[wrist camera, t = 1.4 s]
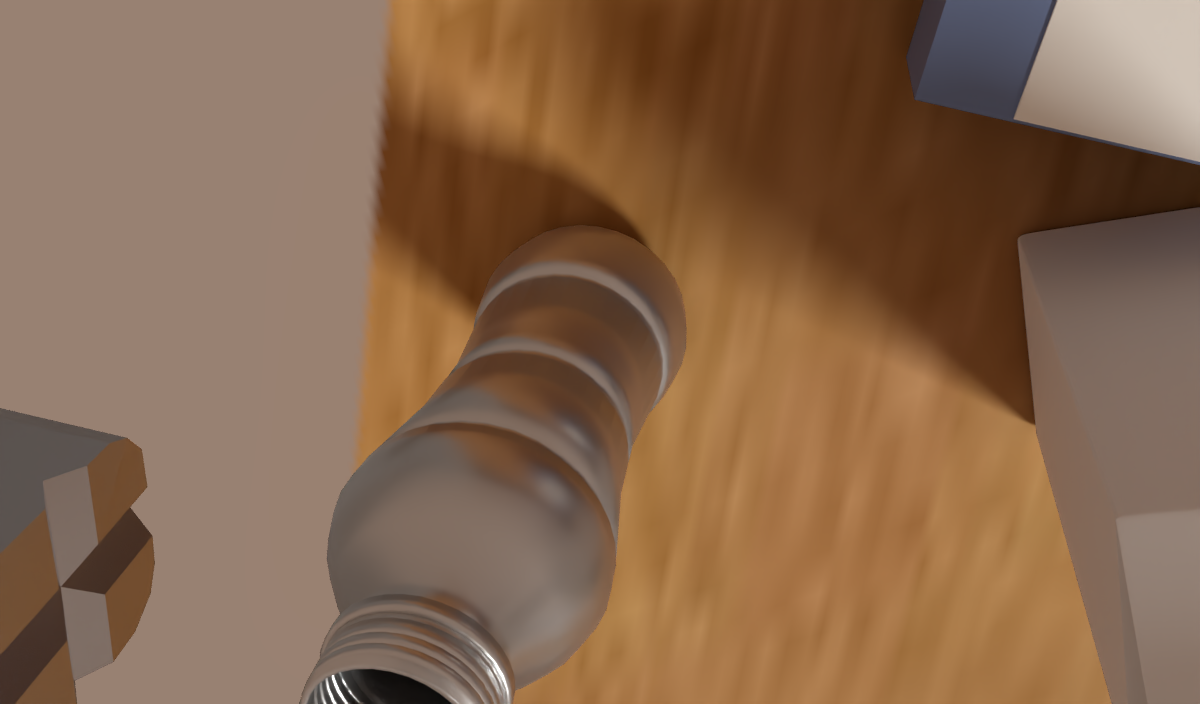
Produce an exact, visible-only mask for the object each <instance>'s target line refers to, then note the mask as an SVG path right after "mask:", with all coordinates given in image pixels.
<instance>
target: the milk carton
mask: <svg viewBox="0 0 1200 704" xmlns="http://www.w3.org/2000/svg"><path fill="white" fill-rule="evenodd" d="M1018 252H1019V262H1020V272H1021V282H1022V293H1023V303H1024V313H1025V323H1026V333H1027V344H1028V354H1029V364H1030V374H1031V384H1032V395H1033V405H1034V415H1035V425H1036V434H1037V438H1038V441H1039V445H1040V448H1041V452H1042V455H1043V459H1044V463H1045V466H1046V470H1047V473H1048V477H1049V481H1050V484H1051V488H1052V491H1053V495H1054V498H1055V502H1056V506H1057V509H1058V513H1059V516H1060V520H1061V524H1062V527H1063V531H1064V534H1065V538H1066V541H1067V545H1068V549H1069V552H1070V556H1071V559H1072V563H1073V566H1074V570H1075V574H1076V577H1077V581H1078V584H1079V588H1080V592H1081V595H1082V599H1083V602H1084V606H1085V609H1086V613H1087V617H1088V620H1089V624H1090V627H1091V631H1092V635H1093V638H1094V642H1095V645H1096V649H1097V652H1098V656H1099V660H1100V663H1101V667H1102V670H1103V674H1104V677H1105V681H1106V685H1107V688H1108V692H1109V695H1110V699H1111V703H1112V704H1200V207H1198V208H1191V209H1184V210H1178V211H1171V212H1165V213H1158V214H1152V215H1145V216H1138V217H1132V218H1125V219H1119V220H1112V221H1105V222H1099V223H1092V224H1086V225H1079V226H1072V227H1066V228H1059V229H1053V230H1046V231H1040V232H1034V233H1029V234H1024V235H1021V236H1020V237H1019V238H1018Z"/></svg>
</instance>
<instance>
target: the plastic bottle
mask: <svg viewBox="0 0 1200 704" xmlns="http://www.w3.org/2000/svg"><path fill="white" fill-rule="evenodd" d="M685 349H686V317H685V308H684V304H683V299H682V294H681V292H680V290H679V287H678V285H677V283H676V281H675V278H674V277H673V275H672V274H671V273H670V271H669V270H668V268H667V267H666V265H665V264H664V263H663V262H662V261H661V260H660V259H659V258H658V257H657V256H656V255H655V254H654V253H653V252H652V251H651V250H650V249H648V248H647V247H645V246H644V245H642V244H641V243H640V242H638V241H637V240H635V239H633V238H631V237H629V236H627V235H624V234H622V233H620V232H618V231H614V230H610V229H607V228H603V227H599V226H586V225H574V226H566V227H559V228H556V229H553V230H550V231H547V232H544V233H542V234H540V235H538V236H536V237H535V238H533V239H531V240H529V241H528V242H526V243H525V244H523V245H522V246H520V247H519V248H517V249H516V250H515V251H513V252H512V253H511V254H510V255H509V256H508V257H506V258H505V259H504V260H503V261H502V262H501V263H500V264H499V265H498V267H497V268H496V270H495V271H494V273H493V274H492V275H491V277H490V279H489V281H488V284H487V286H486V289H485V291H484V294H483V297H482V299H481V302H480V305H479V307H478V310H477V313H476V318H475V323H474V330H473V332H472V334H471V336H470V338H469V340H468V342H467V345H466V347H465V349H464V351H463V353H462V355H461V357H460V359H459V362H458V364H457V365H456V367H455V368H454V369H453V370H452V372H451V373H450V374H449V376H448V377H447V378H446V379H445V380H444V382H443V383H442V384H441V385H440V387H439V388H438V389H437V390H436V392H435V393H434V394H433V395H432V397H431V398H430V399H429V400H428V402H427V403H426V404H425V405H424V406H423V407H422V408H421V409H420V410H419V411H418V412H417V413H416V414H414V415H413V416H412V417H411V418H410V419H409V420H408V421H407V422H406V423H405V424H404V425H403V426H401V427H400V428H399V429H398V430H397V431H396V432H395V433H394V434H393V435H392V436H391V437H389V438H388V439H387V440H386V441H385V442H384V443H383V444H382V445H381V446H380V447H379V448H377V449H376V450H375V451H374V452H373V453H372V454H371V455H369V457H368V458H367V459H366V460H365V461H364V463H363V464H362V465H361V466H360V467H359V468H358V469H357V471H356V472H355V473H354V474H353V475H352V477H351V478H350V479H349V481H348V482H347V484H346V485H345V486H344V488H343V489H342V491H341V493H340V495H339V499H338V501H337V504H336V507H335V510H334V513H333V518H332V523H331V529H330V534H329V538H328V550H327V562H328V568H329V574H330V580H331V584H332V588H333V591H334V595H335V599H336V603H337V607H338V609H339V612H340V615H339V617H338V618H337V619H336V621H335V622H334V623H333V625H332V627H331V628H330V630H329V632H328V634H327V636H326V638H325V640H324V643H323V645H322V648H321V652H320V659H319V661H318V663H317V664H316V666H315V668H314V670H313V672H312V673H311V675H310V677H309V678H308V680H307V682H306V684H305V687H304V690H303V692H302V697H301V700H300V702H299V704H513V699H514V694H515V690H518V689H521V688H523V687H525V686H527V685H529V684H531V683H532V682H534V681H536V680H538V679H540V678H542V677H544V676H546V675H547V674H549V673H551V672H552V671H554V670H555V669H557V668H558V667H560V666H562V665H563V664H565V662H566V661H567V660H568V659H569V658H570V657H571V656H572V655H573V654H574V653H575V652H576V651H577V650H578V649H579V648H580V646H581V645H582V644H583V643H584V642H585V641H586V639H587V638H588V637H589V636H590V635H591V634H592V632H593V631H594V630H595V629H596V628H597V626H598V624H599V622H600V620H601V618H602V617H603V615H604V613H605V611H606V609H607V605H608V600H609V596H610V592H611V588H612V582H613V576H614V572H615V567H616V553H617V540H618V527H619V513H620V500H621V491H622V487H623V483H624V479H625V474H626V470H627V466H628V462H629V457H630V453H631V449H632V446H633V444H634V442H635V440H636V438H637V436H638V434H639V432H640V430H641V428H642V426H643V424H644V422H645V420H646V418H647V416H648V414H649V413H650V412H651V410H652V409H653V408H654V407H655V406H656V405H657V403H658V402H659V401H660V400H661V399H662V398H663V396H664V395H665V393H666V391H667V390H668V388H669V387H670V385H671V383H672V382H673V380H674V378H675V376H676V374H677V372H678V370H679V368H680V367H681V365H682V361H683V357H684V353H685Z"/></svg>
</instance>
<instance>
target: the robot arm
mask: <svg viewBox="0 0 1200 704" xmlns="http://www.w3.org/2000/svg"><path fill="white" fill-rule="evenodd" d="M146 488H147V481H146V475H145V468H144V461H143V454H142V449H141V448H139V447H138V446H137V445H135V444H134V443H133V442H131V441H130V440H129V439H128V438H125V437H121V436H116V435H112V434H108V433H104V432H99V431H95V430H91V429H86V428H83V427H78V426H74V425H69V424H65V423H61V422H57V421H53V420H48V419H44V418H40V417H35V416H31V415H27V414H22V413H18V412H14V411H10V410H6V409H1V408H0V704H77V699H76V689H75V680H77V679H79V678H81V677H83V676H85V675H87V674H89V673H91V672H94V671H95V670H98V669H99V668H102V667H104V666H106V665H108V664H110V663H112V662H114V660H115V659H116V657H117V656H118V655H119V653H120V652H121V651H122V649H123V648H124V646H125V645H126V643H127V642H128V641H129V639H130V638H131V637H132V635H133V634H134V632H135V631H136V628H137V626H138V623H139V621H140V618H141V616H142V613H143V611H144V608H145V606H146V603H147V601H148V598H149V596H150V593H151V586H152V579H153V571H154V564H155V561H154V550H153V538H152V535H151V533H150V532H149V531H148V530H147V528H146V527H145V526H144V525H143V523H142V522H141V521H140V519H139V518H138V517H137V516H136V514H135V513H134V512H133V510H132V509H131V508H130V507H131V505H132V504H133V503H134V502H135V501H136V500H137V498H138V497H139V496H140V495H141V494H142V493H143V492H144V490H145V489H146Z"/></svg>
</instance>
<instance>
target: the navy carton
mask: <svg viewBox="0 0 1200 704" xmlns="http://www.w3.org/2000/svg"><path fill="white" fill-rule="evenodd" d="M906 59H907V64H908V69H909V74H910V79H911V84H912V89H913V95H914V100H918V101H923V102H927V103H931V104H936V105H940V106H944V107H949V108H953V109H957V110H962V111H966V112H971V113H975V114H979V115H984V116H988V117H992V118H997V119H1001V120H1005V121H1010V122H1014V123H1018V124H1023V125H1027V126H1032V127H1036V128H1040V129H1045V130H1049V131H1053V132H1058V133H1062V134H1066V135H1071V136H1075V137H1080V138H1084V139H1088V140H1093V141H1097V142H1101V143H1106V144H1110V145H1114V146H1119V147H1123V148H1128V149H1132V150H1136V151H1141V152H1145V153H1149V154H1154V155H1158V156H1162V157H1167V158H1171V159H1175V160H1180V161H1184V162H1189V163H1193V164H1197V165H1200V0H924V2H923V5H922V8H921V11H920V14H919V18H918V21H917V24H916V27H915V30H914V34H913V37H912V40H911V43H910V46H909V50H908V53H907V56H906Z"/></svg>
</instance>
